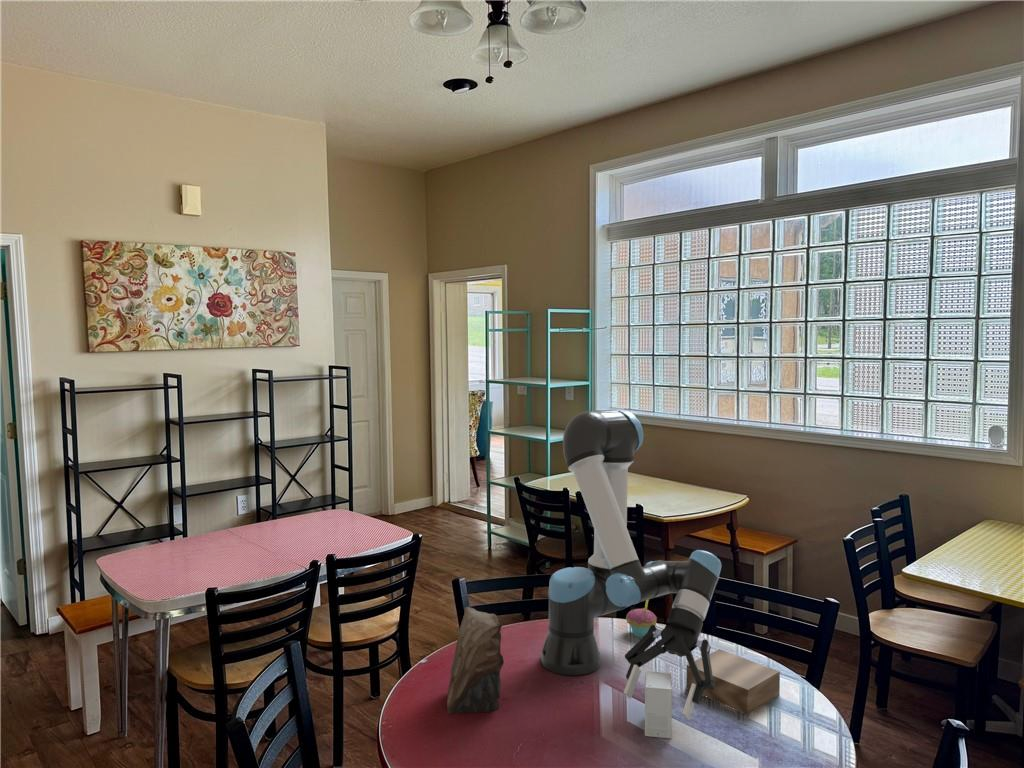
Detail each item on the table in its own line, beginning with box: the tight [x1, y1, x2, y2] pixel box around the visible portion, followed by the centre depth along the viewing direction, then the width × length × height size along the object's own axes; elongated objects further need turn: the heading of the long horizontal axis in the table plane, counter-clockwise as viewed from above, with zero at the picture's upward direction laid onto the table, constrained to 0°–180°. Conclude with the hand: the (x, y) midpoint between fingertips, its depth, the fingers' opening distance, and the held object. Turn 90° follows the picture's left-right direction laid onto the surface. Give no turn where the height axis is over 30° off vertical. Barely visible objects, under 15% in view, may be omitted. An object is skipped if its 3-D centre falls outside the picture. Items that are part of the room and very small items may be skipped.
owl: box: [446, 606, 505, 715], centre depth 157 cm, size 13×13×20 cm
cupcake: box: [625, 599, 658, 638], centre depth 196 cm, size 9×8×12 cm
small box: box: [644, 670, 673, 740], centre depth 146 cm, size 8×6×10 cm
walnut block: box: [685, 648, 781, 716], centre depth 163 cm, size 16×14×6 cm
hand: (655, 706), depth 145 cm, fingers open, 13 cm apart
